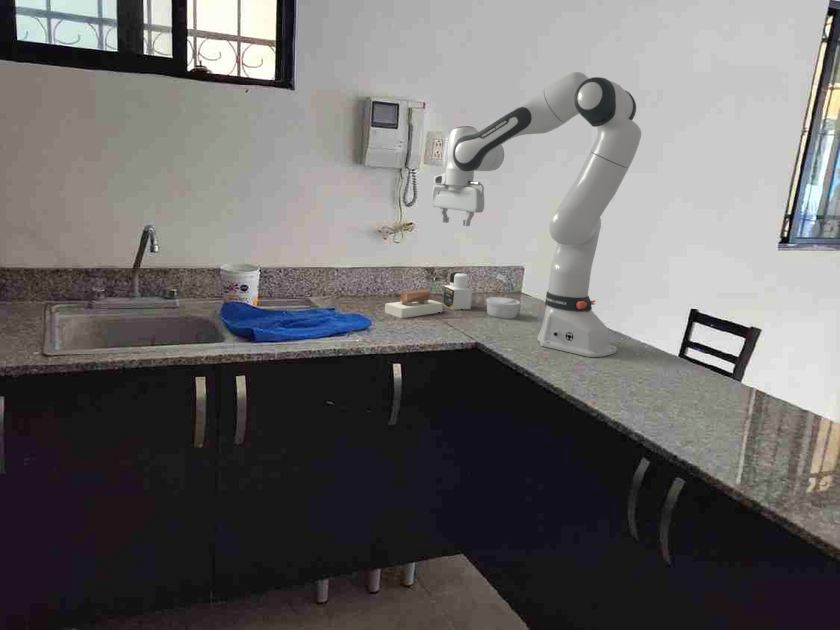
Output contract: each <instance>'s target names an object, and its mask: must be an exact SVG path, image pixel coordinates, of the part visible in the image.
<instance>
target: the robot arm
mask: <svg viewBox="0 0 840 630" xmlns="http://www.w3.org/2000/svg"><path fill="white" fill-rule="evenodd" d="M636 112H637V103H636V101H635V98H634V96H633V95H632V94H631V93H630V91H627V90H626V89H624V88H623V87H622V86H621V85H619V84H618V83H616V82H614V81H611V80H609V79H607V78H604V77H599V76H597V77H596V76H595V77H588V76H587V75H586V74H584V73H582V72H580V71H574V72H571V73H569V74H567V75H565V76H563V77H561V78H560V79H557V80H556V81H554V82H553V83H551V84H549V85H548V86H547V87H545V88H544V89H543V90H541V91H540V92H538V93H537V94H535V95H534V96H533V97H532V98H530V99H529V100H527V101H526V102H524V103H523V104H522V105H519V107H517V108H515V109H514V110H512V111H510V112H509V113H507V114H505V115H504V116H502V117H500V118H499V119H497V120H496V121H494V122H493V123H491V124H490V125H488V126H486V127H484V128H483V129H481V130H480V131H479V130H477V128H475V127H474V126H470V125H465V126H457V127H455V128H453V129H452V130H451V131H450V132H449V133H450V134H449V138H448V141H447V142H448V143H447V153H446V156H447V165H446V167H445V172H444V173H442V174H439V175H436V176H434V177H433V181H432V182H433V183H434V185H433V186H432V190H431V191H432V192H431V205H432V207H433V208H439V212H440V216H441V222H442V223H446V224H447V223H449V222H450V216H448V214H447V212H448V210H455V211H463V212H466V218H465V219H463V221H462V226H465V227H470V226H471V221H472V219H473V217H474V216H475V213H476V214H477V213H483V212H484V210H485V193H484V192H485V191H484V190H485V188H484V187H485V186H484V185H483V184H482V182H480V181H474V177H475V172H491V171H492V172H493V171H495V170H497V169H499V168H500V167H501V165H502V164H503V162H504V158H505V149H504V147H503V144H505V143H506V142H508V141H510V140H511V139H513V138H517V137H519V136H525V135H537V134H539V135H540V134H546V133H549V132H552V131H554V130H555V129H558V128H559V127H562V126H563V125H564V124H566V123H567V122H568V121H569V120H571V119H573V118H574V117H576V116H578V115H580V116H582V118H583V119H584V120H585V121H587V122H588V123H589V124H590V126H591V127H594V128H595V127H596V129H597V137H596V140H595V141H594V144H593V145H592V148H591V149H590V152H589V153H588V155H587V158H586V160H585V162H584V163H583V166H582V167H581V170H580V172H579V173H578V175H577V178H575V181H574V182H573V184H572V186H571V187H570V189H568V192H567V193H566V194H565V195H564V198H563V200H562V201H561V203H560V204H559V206H558V208H557V209H556V211H555V212H554V214H553V216H552V217H551V219H550V221H549V225H548V227H549V234H550V237H551V238H552V239H553V241H555V242H556V243H557V245H556V249H555V253H554V256H553V259H552V262H551V265H550V272H549V282H548V290H547V291H546V295H545V301H544V305H545V310H544V316H543V320H542V324H541V328H540V330H539V333H538V335H537V338H536V339H537V341H538V342H539V345H540V346H541V347H545V348H550V349H554V350H558V351H563V352H566V353H572V354H575V355H579V356H585V357H588V358H597V357H599V358H601V357H606V356H610V355H613V354H615V353H616V352H617V349H618V348H617V346H615V345H612V344H610V331H609V328H608V327H607V326H606V324H605V323H603V321H602V320H601V319H600V318H599V317H598V315H597V314H596V313H595V312H594V311H593V307H592V305H593V306H594V305H596V303H595V302H596V300H595V299H594V300H592V299H590V296H589V290H590V289H589V288H590V282H591V272H592V267H593V264H594V263H593V262H594V258H595V254H596V251H597V246H598V241H599V236H600V231H601V227H602V219H601V216H602V215H603V214H604V211H606V208H607V207H608V205H609V204H610V202H611V201H612V200H613V198H614V197H615V195H616V193H617V192H618V190H619V188H620V186H621V184H622V182H623V180H624V178H625V176H626V174H627V173H628V170H629V168H630V167H631V164H632V162H633V161H634V159H635V156H636V154H637V150H638V147H639V145H640V141H641V140H642V139H641V138H642V131H641V128H640V126H639V125H638V124H637V123H636V122H635V121H634V120H633V119H634V118H635V116H636Z"/></svg>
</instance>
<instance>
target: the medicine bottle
mask: <svg viewBox="0 0 840 630" xmlns="http://www.w3.org/2000/svg"><path fill="white" fill-rule="evenodd" d="M449 277H450V278H449V284H446V285H444V291H443V301H442V303H443V306H444V307H445V308H448V309H450V310H452V311H453V310H454V311H457V310H459V311H460V310H461V309H463V310H471V309H472V308H471V307H472V295H473V288H470V287H468V283H469V282H468V281H469V274H467V273H465V272H462V271H461V272H459V271H455V272H451V273H450V276H449Z"/></svg>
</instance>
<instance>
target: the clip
mask: <svg viewBox="0 0 840 630" xmlns="http://www.w3.org/2000/svg"><path fill="white" fill-rule="evenodd" d="M430 296H431V290H428V289H427V290H426V289H424V288H423V289H414V290H413V289H412V290H407V291H406V290H405V291H401V292H400V299H399V300H400V301H399V302H402V305H405V306H412V302H418V303H422V304H428V300H430Z"/></svg>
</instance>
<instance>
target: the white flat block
mask: <svg viewBox="0 0 840 630" xmlns="http://www.w3.org/2000/svg"><path fill="white" fill-rule="evenodd" d="M443 306H444V305H443V302H439V301H436V300H432V299H429V300H428V304H422V303H418V302H412V306H405V305H402V301H397V302H388V303H387V302H386V303H385V305H384V314H388V315H391V316H393V317H397V318H400V319H405V318H411V317H417V316H418V317H419V316H426V315H432V314H439V313H438V312H440V313H443Z"/></svg>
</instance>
